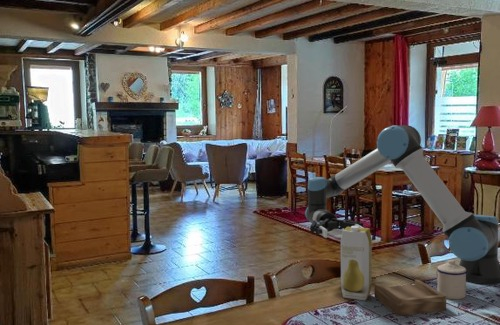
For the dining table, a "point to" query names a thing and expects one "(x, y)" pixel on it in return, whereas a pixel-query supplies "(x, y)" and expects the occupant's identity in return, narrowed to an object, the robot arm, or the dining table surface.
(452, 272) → the teacup with lid
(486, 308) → the dining table surface
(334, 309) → the dining table surface
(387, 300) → the wooden tray
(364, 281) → the juice carton
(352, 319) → the dining table surface
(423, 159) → the robot arm
